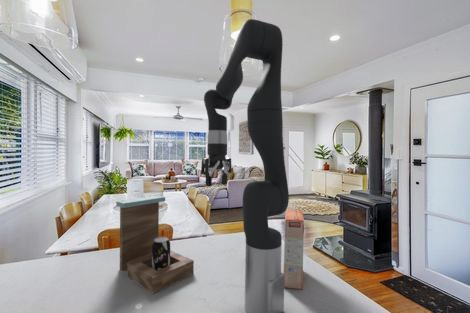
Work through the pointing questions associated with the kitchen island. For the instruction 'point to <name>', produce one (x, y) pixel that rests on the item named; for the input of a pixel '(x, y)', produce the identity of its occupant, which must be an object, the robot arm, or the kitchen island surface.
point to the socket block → (159, 272)
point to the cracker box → (293, 249)
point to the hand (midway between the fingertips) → (216, 185)
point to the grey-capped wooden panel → (138, 227)
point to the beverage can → (160, 253)
